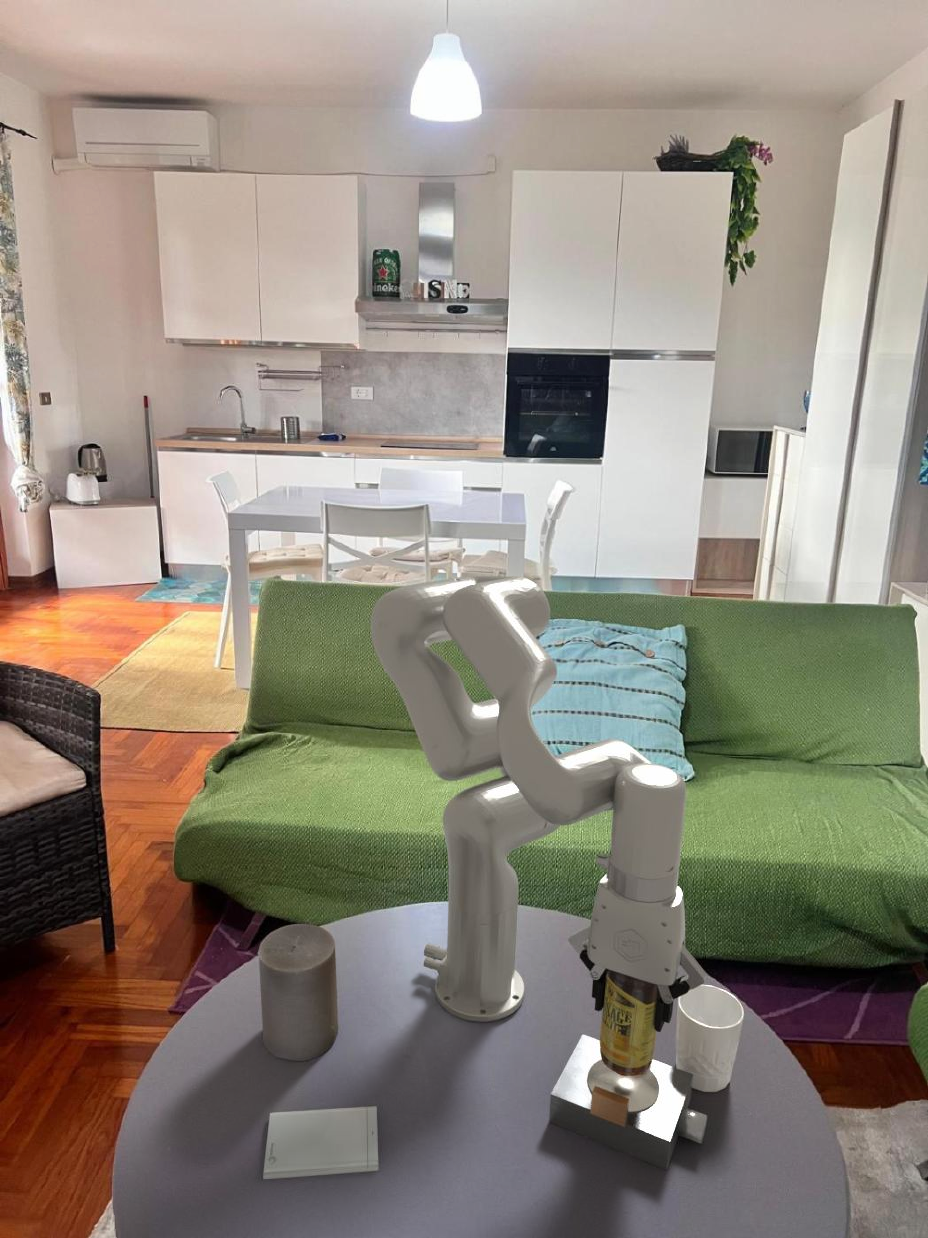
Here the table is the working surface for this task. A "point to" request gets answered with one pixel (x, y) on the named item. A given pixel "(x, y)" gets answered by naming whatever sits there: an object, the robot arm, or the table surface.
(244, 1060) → the table surface
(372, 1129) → the hard drive
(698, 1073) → the white cup
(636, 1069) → the sauce bottle
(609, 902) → the robot arm
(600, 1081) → the block
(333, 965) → the pillar candle
